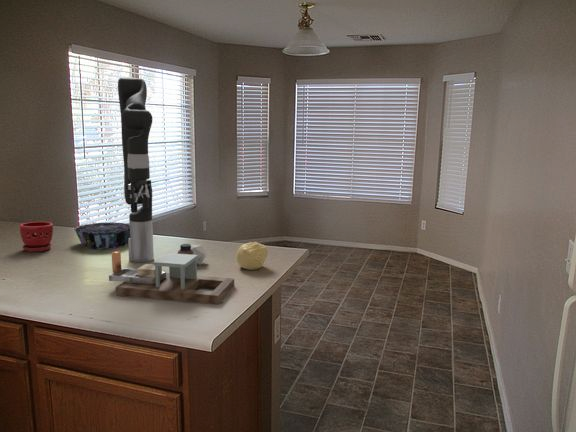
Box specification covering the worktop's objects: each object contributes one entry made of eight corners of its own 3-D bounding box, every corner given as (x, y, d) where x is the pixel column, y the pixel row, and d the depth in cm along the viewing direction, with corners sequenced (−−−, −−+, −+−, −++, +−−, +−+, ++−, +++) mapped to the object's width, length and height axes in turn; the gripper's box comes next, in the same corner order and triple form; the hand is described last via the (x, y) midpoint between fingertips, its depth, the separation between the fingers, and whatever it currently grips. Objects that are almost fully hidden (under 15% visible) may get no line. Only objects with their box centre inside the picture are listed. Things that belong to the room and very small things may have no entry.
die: (195, 269, 193) (209, 249, 195) (178, 258, 194) (191, 238, 195) (199, 270, 201) (212, 251, 203) (182, 259, 202) (195, 240, 203)
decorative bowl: (100, 258, 211) (100, 236, 209) (61, 244, 224) (61, 224, 222) (145, 246, 233) (145, 226, 231) (107, 234, 246) (107, 216, 244)
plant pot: (45, 253, 210) (43, 226, 208) (15, 252, 210) (13, 226, 208) (59, 246, 223) (58, 221, 220) (32, 245, 223) (29, 220, 221)
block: (138, 282, 165) (137, 268, 164) (146, 277, 171) (145, 263, 170) (154, 283, 164) (153, 269, 163) (162, 278, 170) (161, 264, 169)
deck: (116, 295, 160) (115, 286, 160) (141, 278, 178) (141, 271, 177) (218, 304, 154) (218, 295, 154) (234, 286, 172) (234, 278, 171)
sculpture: (251, 273, 187) (251, 247, 185) (231, 267, 195) (230, 241, 193) (271, 267, 195) (271, 242, 193) (251, 261, 203) (251, 237, 201)
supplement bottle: (180, 276, 182) (179, 247, 180) (176, 271, 187) (175, 243, 185) (195, 274, 185) (195, 245, 183) (191, 269, 190) (190, 242, 188)
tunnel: (154, 286, 161) (153, 262, 159) (169, 276, 172) (168, 253, 171) (185, 289, 159) (184, 264, 157) (198, 278, 170) (197, 255, 169)
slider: (106, 280, 165) (105, 255, 164) (120, 272, 174) (118, 249, 172) (155, 284, 162) (154, 259, 160) (166, 276, 171) (165, 252, 169)
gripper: (138, 163, 180) (140, 206, 183) (118, 167, 166) (120, 213, 169) (157, 164, 178) (158, 207, 182) (138, 168, 165) (139, 214, 168)
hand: (140, 210), depth 175 cm, fingers open, 8 cm apart
